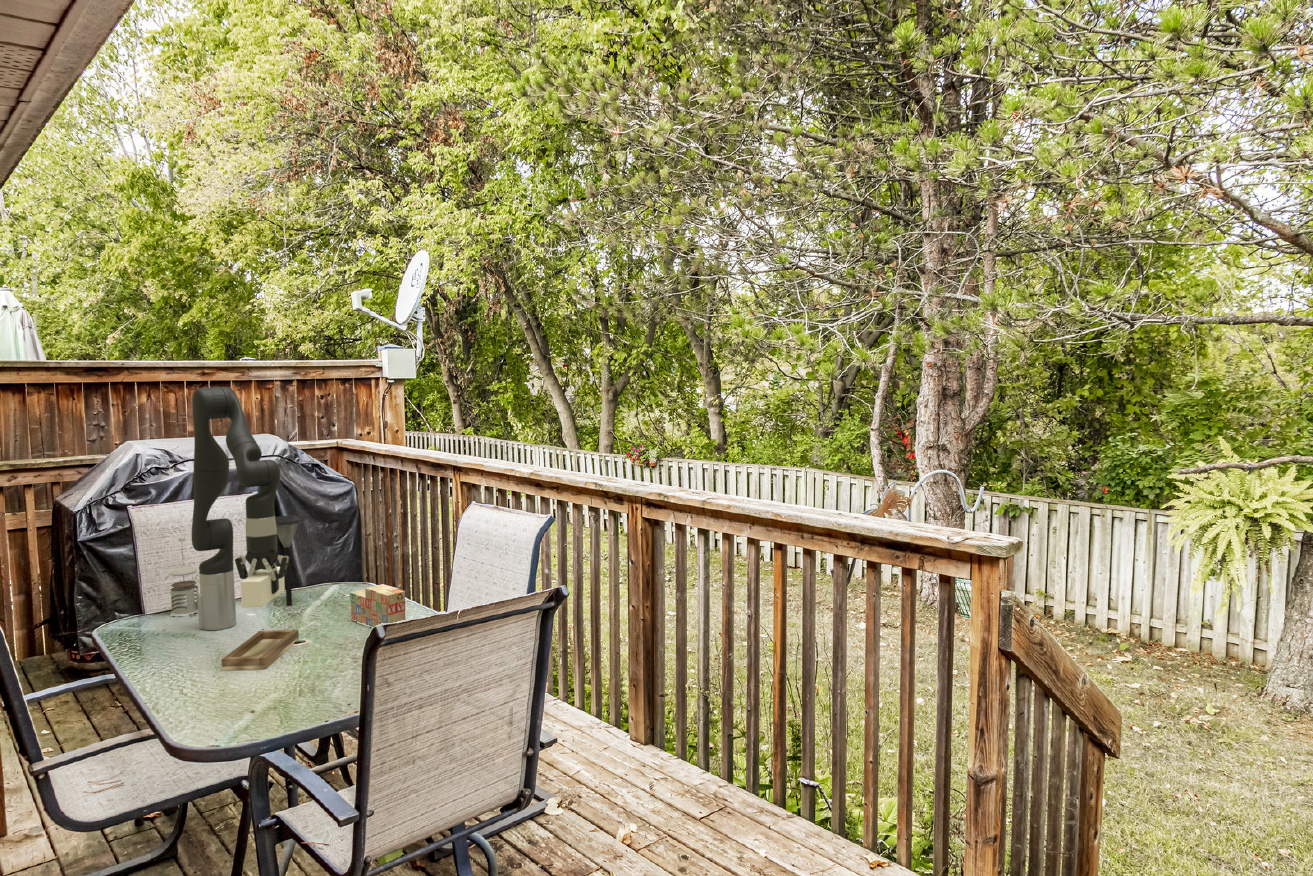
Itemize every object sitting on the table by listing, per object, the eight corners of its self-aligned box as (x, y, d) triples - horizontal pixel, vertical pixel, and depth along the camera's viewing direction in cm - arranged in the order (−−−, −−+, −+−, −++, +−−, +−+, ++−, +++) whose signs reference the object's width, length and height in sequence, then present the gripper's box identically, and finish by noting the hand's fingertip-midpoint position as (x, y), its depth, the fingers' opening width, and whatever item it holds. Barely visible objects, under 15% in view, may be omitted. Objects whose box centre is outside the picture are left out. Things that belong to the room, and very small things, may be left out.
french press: (183, 607, 263) (179, 533, 261) (214, 608, 261) (211, 534, 259) (160, 616, 253) (156, 540, 251) (193, 617, 251) (189, 540, 249)
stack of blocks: (350, 621, 247) (349, 582, 246) (369, 616, 252) (367, 578, 251) (387, 635, 234) (386, 594, 233) (406, 630, 238) (405, 590, 238)
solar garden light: (314, 599, 271) (311, 513, 269) (300, 610, 259) (296, 520, 257) (278, 600, 271) (274, 514, 268) (262, 611, 258) (258, 520, 256)
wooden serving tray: (222, 670, 206) (221, 659, 206) (259, 641, 229) (259, 631, 229) (265, 669, 207) (265, 658, 207) (298, 639, 230) (298, 629, 230)
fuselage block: (241, 607, 209) (240, 581, 209) (266, 590, 225) (265, 566, 225) (261, 607, 210) (260, 581, 209) (284, 590, 226) (283, 566, 225)
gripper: (227, 536, 211) (230, 598, 213) (283, 535, 213) (285, 596, 214) (239, 530, 219) (242, 590, 220) (293, 529, 220) (295, 589, 222)
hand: (263, 593), depth 217 cm, fingers closed on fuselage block, 5 cm apart
